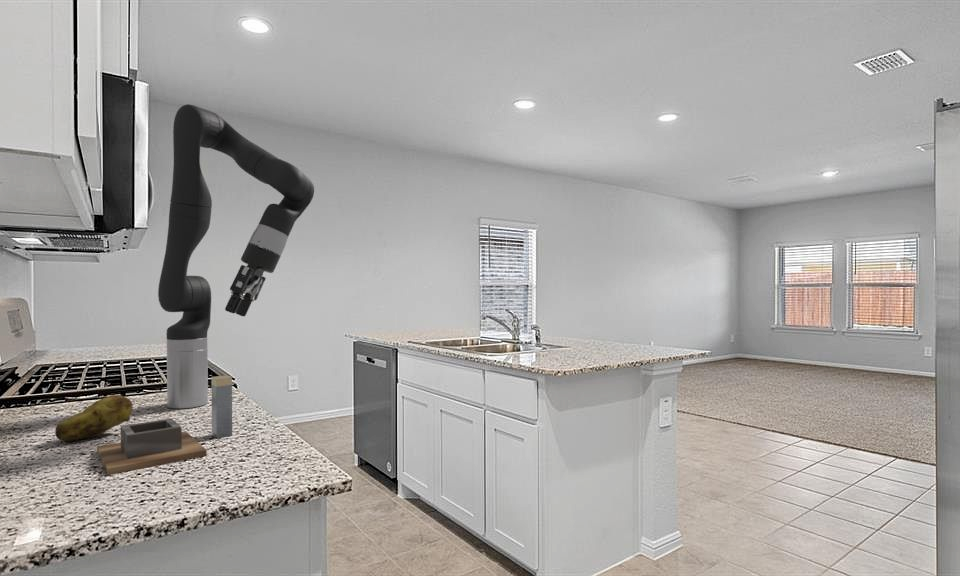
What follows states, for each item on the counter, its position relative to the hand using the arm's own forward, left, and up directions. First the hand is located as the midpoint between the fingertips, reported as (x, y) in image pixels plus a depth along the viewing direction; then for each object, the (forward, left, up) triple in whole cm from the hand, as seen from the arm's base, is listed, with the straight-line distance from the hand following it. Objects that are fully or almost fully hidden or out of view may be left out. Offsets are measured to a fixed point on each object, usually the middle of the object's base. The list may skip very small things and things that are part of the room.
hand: (234, 313), depth 122 cm
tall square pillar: (+7, -7, -25) cm, 27 cm away
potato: (-11, -24, -25) cm, 36 cm away
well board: (+9, -21, -24) cm, 33 cm away
